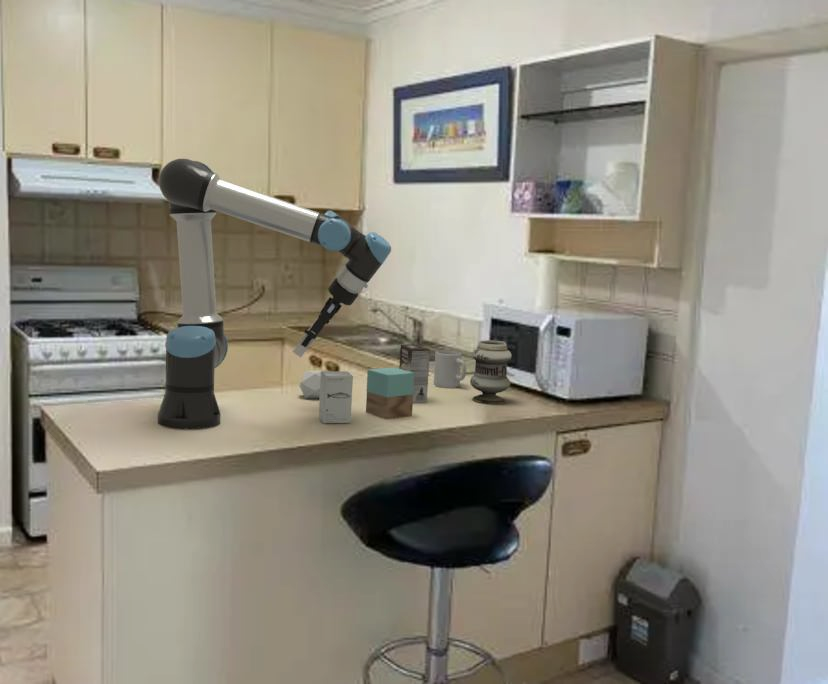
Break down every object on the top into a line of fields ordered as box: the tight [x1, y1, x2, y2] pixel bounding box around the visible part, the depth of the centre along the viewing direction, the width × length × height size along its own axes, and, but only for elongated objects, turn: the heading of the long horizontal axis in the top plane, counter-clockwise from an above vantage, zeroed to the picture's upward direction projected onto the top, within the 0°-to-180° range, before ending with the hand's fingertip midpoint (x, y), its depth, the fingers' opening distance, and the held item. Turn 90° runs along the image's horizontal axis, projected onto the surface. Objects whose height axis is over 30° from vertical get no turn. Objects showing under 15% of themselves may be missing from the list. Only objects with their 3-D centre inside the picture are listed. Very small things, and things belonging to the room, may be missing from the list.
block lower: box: [365, 391, 414, 420], centre depth 241 cm, size 9×9×6 cm
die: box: [298, 370, 322, 399], centre depth 257 cm, size 8×9×10 cm
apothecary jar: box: [469, 339, 512, 405], centre depth 266 cm, size 12×12×18 cm
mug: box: [433, 350, 467, 389], centre depth 285 cm, size 12×8×11 cm
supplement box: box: [318, 370, 354, 424], centre depth 229 cm, size 7×7×13 cm
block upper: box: [366, 367, 414, 397], centre depth 240 cm, size 9×9×6 cm
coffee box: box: [398, 343, 431, 404], centre depth 261 cm, size 9×6×16 cm
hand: (302, 346), depth 237 cm, fingers open, 13 cm apart
